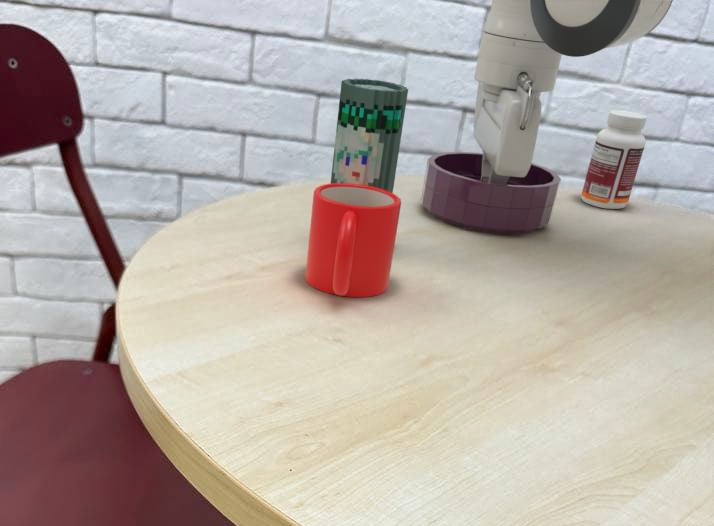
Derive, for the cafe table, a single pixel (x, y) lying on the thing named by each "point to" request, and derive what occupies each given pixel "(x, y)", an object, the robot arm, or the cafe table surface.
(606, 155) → the pill bottle
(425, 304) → the cafe table surface
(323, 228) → the mug
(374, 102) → the can
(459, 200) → the bowl
